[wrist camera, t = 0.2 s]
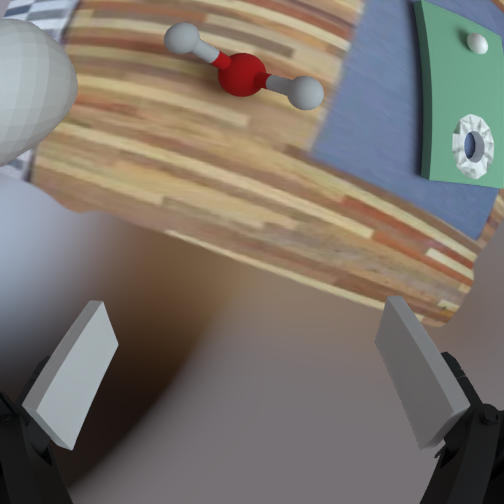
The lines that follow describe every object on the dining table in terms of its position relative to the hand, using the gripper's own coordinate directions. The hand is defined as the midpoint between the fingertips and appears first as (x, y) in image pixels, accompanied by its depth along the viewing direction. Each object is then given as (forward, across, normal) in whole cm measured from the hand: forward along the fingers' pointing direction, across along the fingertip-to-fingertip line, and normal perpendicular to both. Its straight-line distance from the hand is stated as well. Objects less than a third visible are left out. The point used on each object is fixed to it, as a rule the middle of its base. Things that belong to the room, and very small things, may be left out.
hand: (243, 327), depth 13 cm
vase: (+28, -28, +17) cm, 43 cm away
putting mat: (+28, +34, +16) cm, 47 cm away
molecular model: (+28, 0, +15) cm, 32 cm away
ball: (+24, +34, +26) cm, 48 cm away
